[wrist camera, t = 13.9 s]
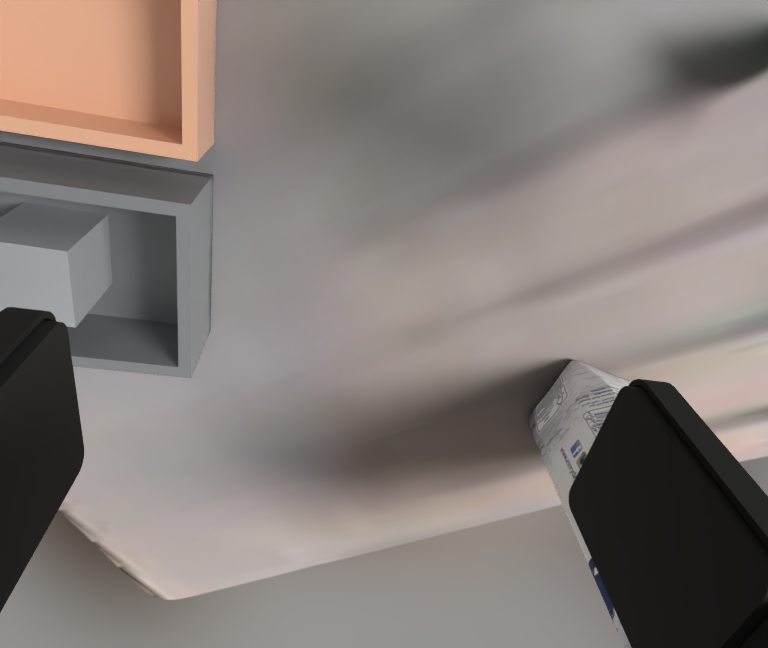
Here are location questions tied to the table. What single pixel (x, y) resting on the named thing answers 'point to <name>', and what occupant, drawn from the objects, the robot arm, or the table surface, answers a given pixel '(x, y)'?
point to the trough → (111, 73)
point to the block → (54, 260)
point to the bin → (131, 254)
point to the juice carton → (575, 438)
